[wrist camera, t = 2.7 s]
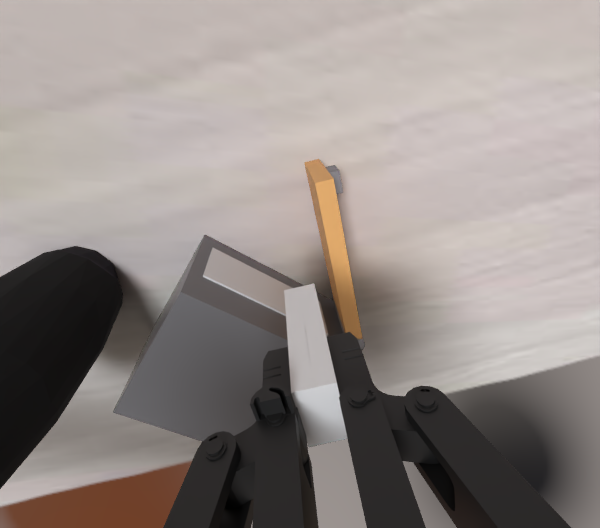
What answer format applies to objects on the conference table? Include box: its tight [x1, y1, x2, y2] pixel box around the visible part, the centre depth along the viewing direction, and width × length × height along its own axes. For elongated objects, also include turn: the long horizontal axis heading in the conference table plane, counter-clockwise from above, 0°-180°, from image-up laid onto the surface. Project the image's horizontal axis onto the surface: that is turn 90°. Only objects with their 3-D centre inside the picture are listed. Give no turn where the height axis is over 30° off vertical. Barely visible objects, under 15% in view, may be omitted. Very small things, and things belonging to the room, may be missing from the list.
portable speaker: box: [0, 246, 123, 489], centre depth 24 cm, size 9×9×20 cm
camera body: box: [113, 235, 343, 441], centre depth 32 cm, size 18×12×11 cm
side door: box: [305, 159, 365, 350], centre depth 29 cm, size 14×2×7 cm, turn 13°
